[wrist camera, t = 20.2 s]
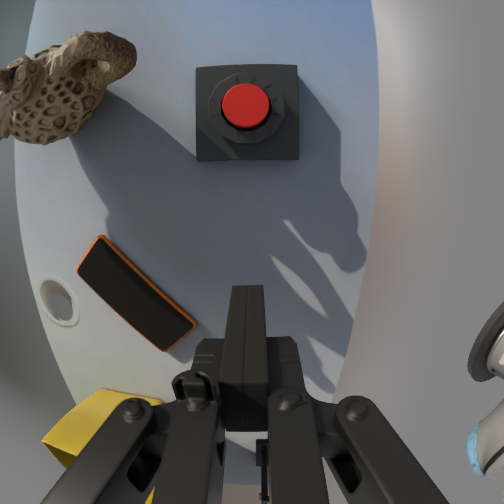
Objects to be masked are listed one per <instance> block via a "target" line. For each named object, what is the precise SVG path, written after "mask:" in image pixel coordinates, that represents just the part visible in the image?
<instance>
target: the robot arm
mask: <svg viewBox="0 0 504 504" xmlns="http://www.w3.org/2000/svg"><path fill="white" fill-rule="evenodd" d="M485 367H486V368H487V369H488V370H489V372H490V373H492V374H494V375H496V376H498V377H500V378H502V379H504V325H503V326H502V327H501V329H500V330H499V331H498V333H497V334H496V336H495V337H494V339H493V340H492V342H491V344H490V346H489V348H488V351H487V353H486V356H485ZM172 387H173V390H174V393H175V396H176V399H177V400H175V401H173V402H170V403H167V404H161V405H154V406H151V404H150V403H149V402H148V401H147V400H145V399H143V398H138V397H134V398H128V399H126V400H123V401H122V402H120V403H119V404H118V405H117V406H116V407H115V409H114V410H113V411H112V412H111V414H110V415H109V416H108V417H107V419H106V420H105V421H104V423H103V424H102V425H101V426H100V428H99V429H98V430H97V431H96V433H95V434H94V435H93V436H92V438H91V439H90V440H89V441H88V443H87V444H86V445H85V447H84V448H83V449H82V450H81V452H80V453H79V454H78V455H77V457H76V458H75V459H74V461H73V462H72V463H71V464H70V466H69V467H68V468H67V470H66V471H65V472H64V473H63V475H62V476H61V477H60V479H59V480H58V481H57V482H56V484H55V485H54V486H53V488H52V489H51V490H50V491H49V493H48V494H47V495H46V497H45V498H44V499H43V501H42V502H41V503H40V504H145V502H146V500H147V499H148V497H149V495H150V494H151V492H152V490H153V488H154V486H155V489H154V493H153V497H152V502H151V504H221V501H222V488H223V476H224V463H225V450H226V441H225V427H226V431H229V432H262V431H268V450H267V454H268V473H269V504H329V499H328V492H327V485H326V479H325V473H324V468H323V462H322V457H324V458H325V460H326V462H327V464H328V466H329V468H330V470H331V472H332V474H333V476H334V477H335V479H336V481H337V483H338V485H339V487H340V489H341V490H342V493H343V495H344V496H345V498H346V500H347V502H348V504H449V502H448V501H447V500H446V498H445V497H444V495H443V494H442V493H441V491H440V490H439V489H438V487H437V486H436V485H435V483H434V482H433V481H432V480H431V478H430V477H429V475H428V474H427V473H426V471H425V470H424V469H423V467H422V466H421V465H420V463H419V462H418V461H417V459H416V458H415V457H414V455H413V454H412V453H411V451H410V450H409V449H408V448H407V446H406V445H405V443H404V442H403V441H402V439H401V438H400V437H399V435H398V434H397V433H396V432H395V430H394V429H393V428H392V426H391V425H390V423H389V422H388V421H387V420H386V418H385V417H384V416H383V414H382V413H381V412H380V410H379V409H378V408H377V407H376V405H375V404H374V403H373V402H372V401H371V400H370V399H368V398H365V397H363V396H349V397H346V398H344V399H342V400H341V401H340V402H339V403H338V404H333V403H326V402H322V401H318V400H316V399H314V398H313V397H311V396H310V395H309V394H308V392H307V391H306V388H305V384H304V379H303V374H302V368H301V363H300V358H299V354H298V348H297V344H296V342H295V341H294V340H293V339H292V338H291V337H290V336H286V337H266V323H265V307H264V291H263V285H248V286H232V292H231V299H230V306H229V312H228V319H227V325H226V332H225V339H206V338H204V339H203V340H202V341H201V342H200V343H199V344H198V345H197V348H196V352H195V356H194V359H193V363H192V367H191V370H188V371H185V372H182V373H180V374H179V375H177V376H176V377H175V378H174V379H173V381H172ZM465 447H466V453H467V457H468V460H469V463H470V464H471V465H472V469H473V471H474V472H475V474H476V475H478V476H480V477H481V476H484V475H485V477H486V479H492V480H495V481H496V483H497V486H498V488H499V491H500V494H501V496H502V499H503V502H504V399H503V401H502V402H501V403H500V404H499V405H498V406H497V407H496V408H495V409H494V410H493V411H492V412H491V413H490V414H489V415H488V416H486V418H484V419H483V420H481V421H480V422H479V423H478V425H477V426H476V427H475V428H474V429H473V430H472V431H470V432H469V434H468V436H467V438H466V442H465Z"/></svg>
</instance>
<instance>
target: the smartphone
mask: <svg viewBox="0 0 504 504" xmlns="http://www.w3.org/2000/svg"><path fill="white" fill-rule="evenodd" d="M76 272H77V274H78V275H79V276H80V277H81V278H82V279H83V280H84V281H85V282H86V284H87V285H88V286H89V287H90V288H91V289H92V290H93V291H94V292H95V293H96V294H97V295H98V296H100V297H101V298H102V299H103V300H104V301H105V302H106V303H107V304H108V305H109V306H110V307H111V308H112V309H113V310H114V311H115V312H116V313H117V314H119V315H120V316H121V317H122V318H123V319H124V320H125V321H126V322H127V323H129V324H130V325H131V326H132V327H133V328H134V329H135V330H137V331H138V332H139V333H140V334H141V335H142V336H144V337H145V338H146V339H147V340H148V341H150V342H151V343H152V344H153V345H154V346H156V347H157V348H158V349H159V350H161V351H162V352H166V351H168V350H169V349H170V348H171V347H173V346H174V345H175V344H176V343H177V342H179V341H180V340H181V339H182V338H183V337H185V336H186V335H187V334H188V333H189V332H191V331H192V330H193V329H194V328H195V327H196V322H195V321H194V320H193V319H192V318H191V317H190V316H189V315H187V314H186V313H185V312H184V311H183V310H182V309H181V308H179V307H178V306H177V305H176V304H175V303H174V302H173V301H171V300H170V299H169V298H168V297H167V296H166V295H165V294H164V293H163V292H161V291H160V290H159V289H158V288H157V287H156V286H155V285H154V284H153V283H152V282H151V281H150V280H149V279H147V278H146V277H145V276H144V275H143V274H142V273H141V272H140V271H139V270H138V269H137V268H136V267H135V266H134V265H133V264H132V263H131V262H130V261H129V260H128V259H127V258H126V257H125V256H124V255H123V254H122V253H121V252H120V251H119V250H118V249H117V248H116V247H115V246H114V245H113V244H112V243H111V242H110V241H109V240H108V239H107V238H106V237H105V236H104V235H99V236H98V237H97V239H96V240H95V242H94V243H93V245H92V246H91V247H90V249H89V251H88V252H87V254H86V255H85V256H84V258H83V260H82V261H81V263H80V264H79V266H78V267H77V269H76Z"/></svg>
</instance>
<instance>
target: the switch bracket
mask: <svg viewBox="0 0 504 504" xmlns="http://www.w3.org/2000/svg"><path fill="white" fill-rule="evenodd" d="M267 450H268V439H257V440H256V466H261V488H262V489H261V490H262V492H261V493H259V500H261V501H262V504H267V503H268V487H267V466H268V454H267Z"/></svg>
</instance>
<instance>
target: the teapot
mask: <svg viewBox="0 0 504 504" xmlns="http://www.w3.org/2000/svg"><path fill="white" fill-rule="evenodd" d="M136 60H137V53H136V48H135V46H134V45H133V44H132V43H131V42H129V41H127V40H126V39H124V38H121V37H119V36H116V35H114V34H112V33H110V32H108V31H107V32H95V33H94V32H89V31H85V32H83V33H81V34H77V35H73V36H71V37H70V38H69V39H68V40H67V41H66V42H65V43H64V44H63V45H52V46H50V47H48V48H46V49H43V50H41V51H39V52H38V53H36V54H34V55H33V56H31V57H30V58H28V57H27V56H26V55H24V56H22V57H20V58H18V59H16V60H14V61H13V62H12V63H10V64H9V66H8V67H7V68H6V69H0V140H1V139H3V138H8V137H9V135H10V134H11V135H13V136H14V137H15V138H16V139H17V140H19V141H23V142H26V143H31V144H42V145H47V144H49V143H53V142H55V141H57V140H60V139H64V138H66V137H67V136H69V135H71V134H75V133H78V132H79V131H80V130H81V129H82V127H83V126H84V125H85V124H86V122H87V121H88V120H89V119H90V117H91V115H92V112H93V110H94V109H95V108H96V107H97V106H98V105H99V104H100V103H101V102H102V101H103V95H104V92H105V89H106V87H107V85H108V84H110V83H112V82H114V81H116V80H118V79H121V78H122V77H124V76H125V75H126V74H128V73H129V72H130V71H131V70H132V69H133V68H134V67H135V65H136Z"/></svg>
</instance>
